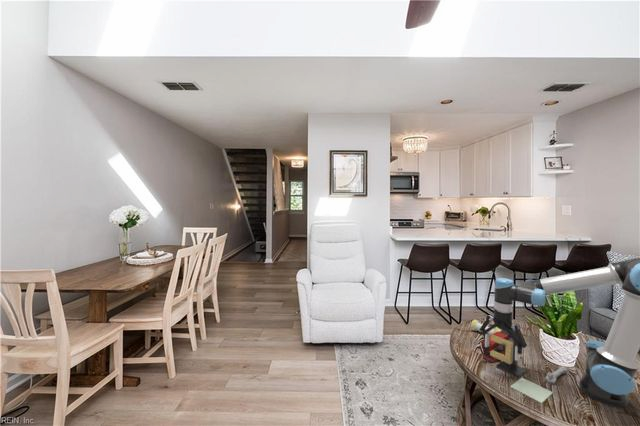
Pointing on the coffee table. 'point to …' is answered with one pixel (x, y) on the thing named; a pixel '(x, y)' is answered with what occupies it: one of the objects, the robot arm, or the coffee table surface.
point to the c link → (508, 351)
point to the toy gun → (495, 345)
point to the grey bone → (555, 375)
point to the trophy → (476, 326)
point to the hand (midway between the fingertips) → (501, 352)
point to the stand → (513, 367)
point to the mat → (531, 390)
